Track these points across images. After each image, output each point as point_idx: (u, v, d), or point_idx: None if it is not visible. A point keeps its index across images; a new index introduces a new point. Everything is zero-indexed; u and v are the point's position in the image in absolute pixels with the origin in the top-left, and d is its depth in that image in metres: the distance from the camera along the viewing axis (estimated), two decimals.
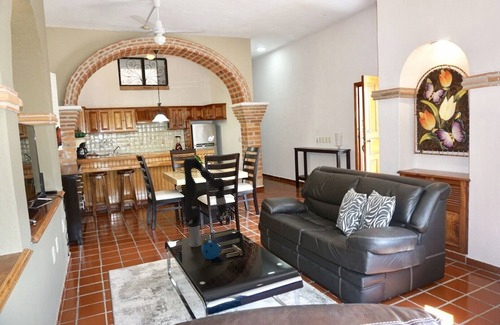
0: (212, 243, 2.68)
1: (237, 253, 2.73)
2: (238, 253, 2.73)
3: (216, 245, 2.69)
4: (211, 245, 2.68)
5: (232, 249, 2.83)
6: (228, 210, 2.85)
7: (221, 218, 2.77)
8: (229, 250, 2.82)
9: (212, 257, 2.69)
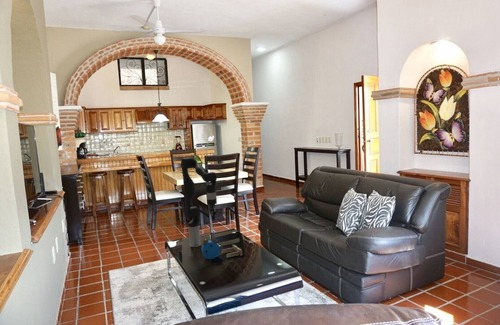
0: (212, 243, 2.68)
1: (237, 253, 2.73)
2: (238, 253, 2.73)
3: (216, 245, 2.69)
4: (211, 245, 2.68)
5: (232, 249, 2.83)
6: None
7: None
8: (229, 250, 2.82)
9: (212, 257, 2.69)
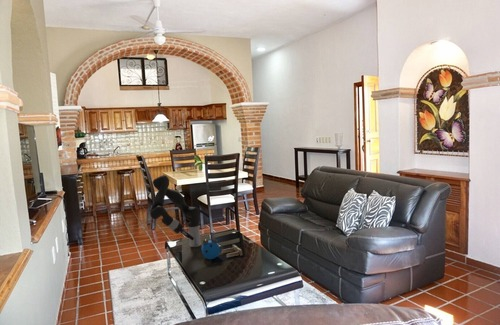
0: (212, 243, 2.68)
1: (237, 253, 2.73)
2: (238, 253, 2.73)
3: (216, 245, 2.69)
4: (211, 245, 2.68)
5: (232, 249, 2.83)
6: None
7: (189, 234, 2.62)
8: (229, 250, 2.82)
9: (212, 257, 2.69)
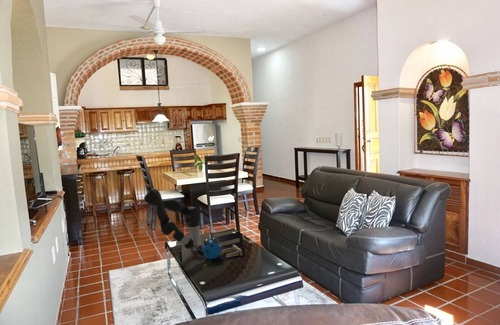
0: (213, 243, 2.68)
1: (237, 253, 2.73)
2: (238, 253, 2.73)
3: (217, 245, 2.69)
4: (212, 244, 2.68)
5: (232, 249, 2.83)
6: None
7: (199, 249, 2.66)
8: (229, 250, 2.82)
9: (213, 257, 2.69)
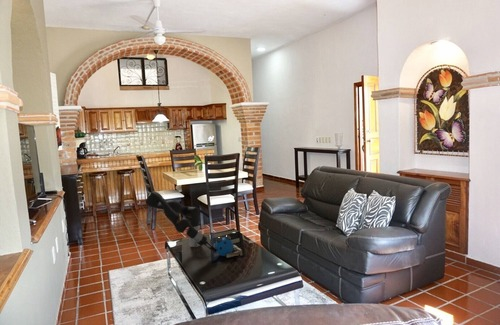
0: (226, 240, 2.72)
1: (237, 253, 2.73)
2: (238, 253, 2.73)
3: (230, 242, 2.74)
4: (225, 242, 2.72)
5: None
6: None
7: (212, 246, 2.70)
8: None
9: None
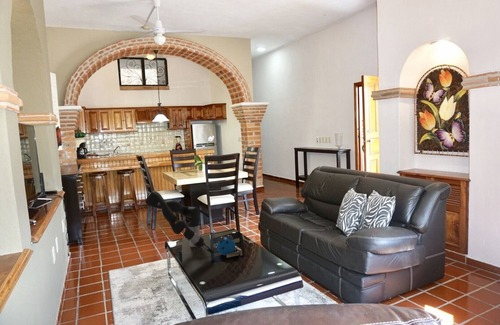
0: (228, 240, 2.73)
1: (237, 253, 2.73)
2: (238, 253, 2.73)
3: (232, 241, 2.75)
4: (227, 241, 2.73)
5: None
6: None
7: None
8: None
9: (228, 253, 2.74)
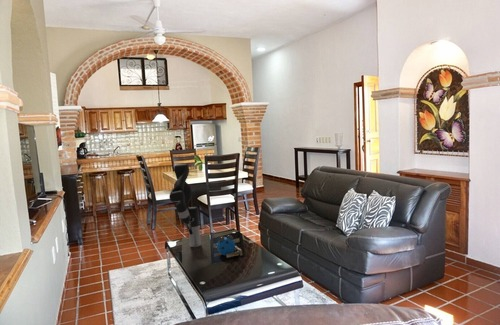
0: (228, 240, 2.73)
1: (237, 253, 2.73)
2: (238, 253, 2.73)
3: (232, 241, 2.75)
4: (227, 241, 2.73)
5: None
6: None
7: None
8: None
9: (228, 253, 2.74)
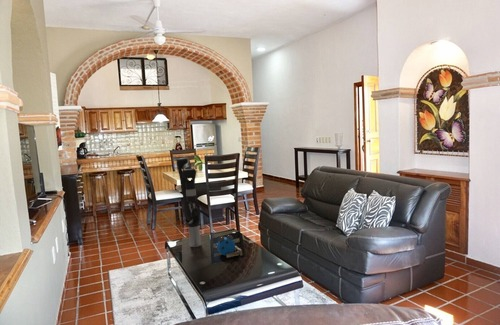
0: (228, 240, 2.73)
1: (237, 253, 2.73)
2: (238, 253, 2.73)
3: (232, 241, 2.75)
4: (227, 241, 2.73)
5: None
6: None
7: None
8: None
9: (228, 253, 2.74)
